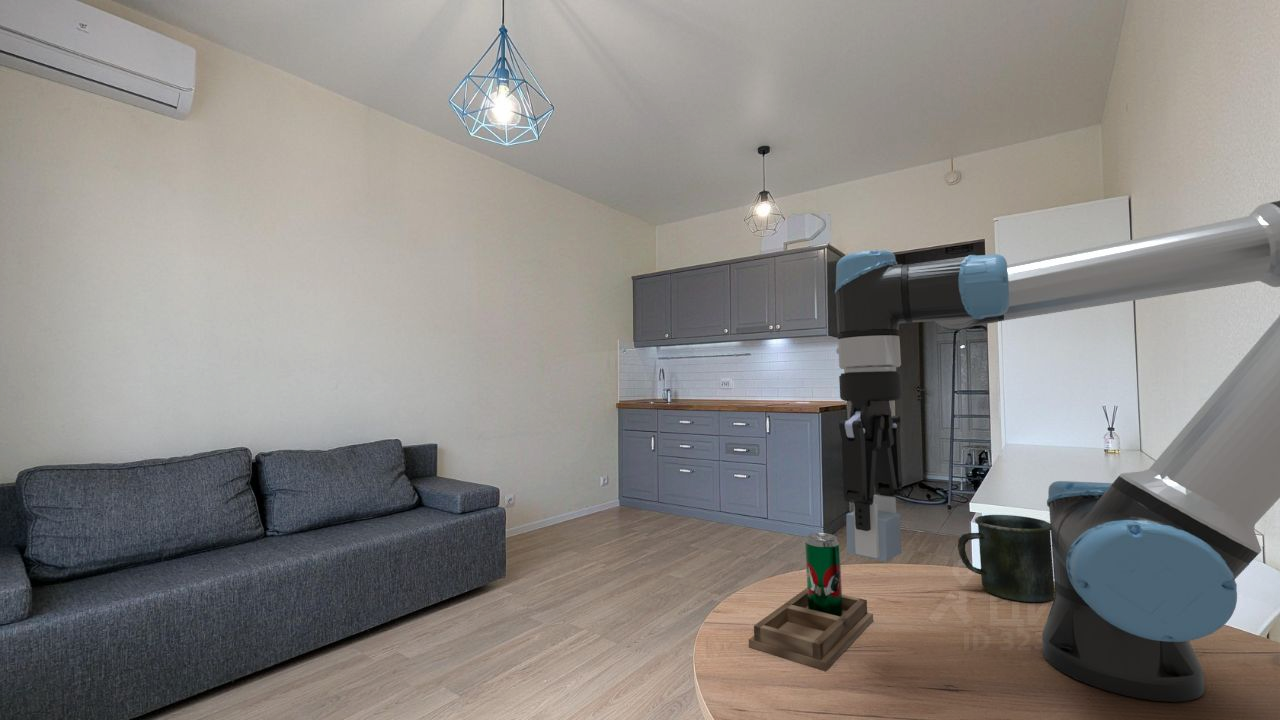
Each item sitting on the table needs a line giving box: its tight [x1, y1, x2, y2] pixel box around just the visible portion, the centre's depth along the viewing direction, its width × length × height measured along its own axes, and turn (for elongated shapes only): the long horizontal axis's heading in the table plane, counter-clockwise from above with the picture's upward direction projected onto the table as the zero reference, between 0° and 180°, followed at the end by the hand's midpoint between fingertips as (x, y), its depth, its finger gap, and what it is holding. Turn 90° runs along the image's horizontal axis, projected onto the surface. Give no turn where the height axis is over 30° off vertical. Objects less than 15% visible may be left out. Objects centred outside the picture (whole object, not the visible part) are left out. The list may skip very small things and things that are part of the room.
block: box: [845, 510, 902, 563], centre depth 71 cm, size 5×5×5 cm
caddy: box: [748, 587, 874, 672], centre depth 81 cm, size 11×19×3 cm, turn 140°
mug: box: [957, 514, 1055, 603], centre depth 94 cm, size 11×15×12 cm
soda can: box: [804, 532, 843, 616], centre depth 84 cm, size 5×5×12 cm
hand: (877, 549), depth 71 cm, fingers closed on block, 5 cm apart
